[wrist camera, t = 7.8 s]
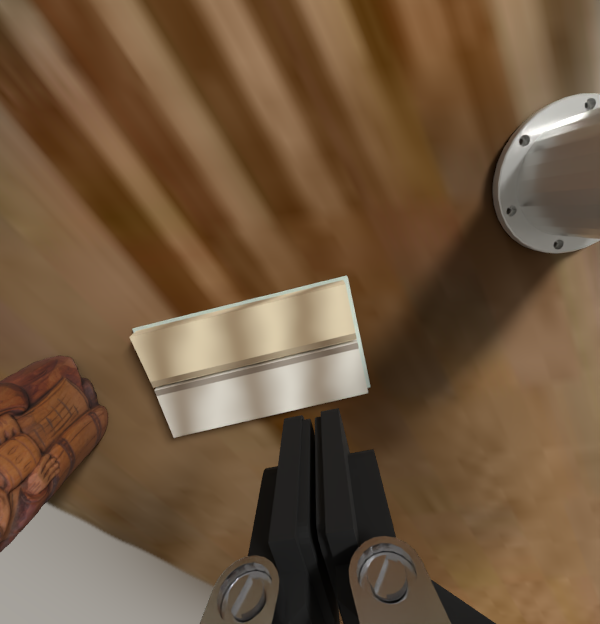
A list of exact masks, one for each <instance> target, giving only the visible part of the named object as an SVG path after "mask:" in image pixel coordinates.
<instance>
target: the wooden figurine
mask: <svg viewBox="0 0 600 624" xmlns="http://www.w3.org/2000/svg"><path fill="white" fill-rule="evenodd" d="M107 424H108V413H107V410H106V408H105V407H104V406H100V405H99V404H98V401H97V395H96V392H95V391H94V388H93V385H92V383H91V382H90V381H89V380H88V379H86V378H81V377H80V375H79V372H78V370H77V366H76V364H75V363H74V360H73V359H72V358H71V357H64V356H56V357H50V358H46V359H43V360H41V361H37V362H34V363H32V364H30V365H29V366H27V367H25V368H23V369H21V370H20V371H18V372H16V373H14V374H12V375H10V376H8V377H7V378H5V379H3V380H2V381H0V552H1V551H2V550H3V549H4V548H5V547H7V546H8V545H9V544H10V543H11V542H12V541H13V539H14V538H15V537H16V536H17V535H18V533H19V532H21V530H23V528H24V527H25V526H26V525H27V524H28V523H29V522H30V521H31V520H32V518H33V517H34V516H35V515H36V514H37V513H38V512H39V510H40V509H41V507H42V506H43V505H44V504H45V503H46V502H47V501H48V500H49V499H50V498H51V497H52V496H53V494H54V493H55V492H56V491H57V490H58V489H59V487H60V486H61V485H62V484H63V482H64V481H65V480H66V479H67V478H68V476H69V475H70V474H71V473H72V472H73V471H74V470H75V469H76V467H77V466H78V465H79V464H80V463H81V462H82V461H83V460H84V458H85V457H86V456H87V455H88V454H89V453H90V452H91V451H92V449H93V448H94V447H95V446H96V445H97V444H98V442H99V441H100V440H101V438H102V436H103V435H104V433H105V431H106V428H107Z"/></svg>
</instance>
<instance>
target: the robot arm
mask: <svg viewBox="0 0 600 624" xmlns="http://www.w3.org/2000/svg"><path fill="white" fill-rule="evenodd" d="M519 141H520V144H519ZM493 201H494V208H495V211H496V214H497V217H498V220H499V221H500V223H501V225H502V227H503V229H504V230H505V231H506V232H507V233H508V234H509V236H510V237H511V238H512V239H513V240H515V241H516V242H518V243H519V244H521V245H522V246H524V247H527V248H529V249H532V250H535V251H540V252H546V253H566V252H573V251H576V250H580V249H583V248H586V247H588V246H590V245H592V244H594V243H596V242H598V241H600V94H597V93H588V94H577V95H573V96H569V97H565V98H563V99H560V100H558V101H555V102H553V103H550V104H549V105H547V106H545V107H543V108H542V109H540V110H538V111H536V112H535V113H534V114H533V115H531V116H530V117H529V118H528V119H526V120H525V121H524V122H523V123H522V124H521V125H520V126H519V128H518V129H517V130H516V131H515V132H514V133H513V134H512V136H511V138H510V139H509V141H508V142H507V144H506V145H505V147H504V149H503V151H502V153H501V156H500V158H499V160H498V162H497V166H496V170H495V174H494V180H493ZM507 210H508V212H506V211H507ZM339 610H340V614H341V617H342V620H343V623H344V624H496V623H494V622H493V621H491V620H490V619H488V618H487V617H485V616H484V615H482V614H481V613H479V612H478V611H476V610H475V609H474V608H472V607H471V606H469V605H468V604H466V603H465V602H463V601H462V600H460V599H459V598H457V597H456V596H454V595H453V594H452V593H450V592H449V591H447V590H446V589H444V588H443V587H441V586H440V585H438V584H437V583H435V582H434V581H432V580H431V579H430V577H429V575H428V573H427V571H426V569H425V567H424V565H423V562H422V560H421V559H420V557H419V556H418V554H417V553H416V551H415V550H414V549H413V548H412V547H411V546H409V545H408V544H407V543H406V542H404V541H402V540H399V539H397V538H396V536H395V532H394V528H393V524H392V520H391V516H390V512H389V508H388V504H387V500H386V496H385V492H384V488H383V484H382V480H381V476H380V472H379V468H378V464H377V460H376V456H375V453H374V449H372V450H367V451H361V452H355V453H350V452H349V448H348V444H347V440H346V436H345V431H344V427H343V423H342V419H341V415H340V411H339V408H337V409H332V410H327V411H322V412H321V417H317V418H315V434H314V430H313V426H312V423H311V420H310V419H306V420H304V417H303V416H302V415H301V416H296V417H291V418H285V419H284V425H283V432H282V440H281V448H280V455H279V463H278V466H277V467H271V468H266V469H265V470H264V473H263V477H262V482H261V488H260V493H259V499H258V504H257V510H256V515H255V520H254V526H253V531H252V537H251V542H250V548H249V553H248V557H244V558H242V559H240V560H238V561H236V562H234V563H233V564H232V565H231V566H229V567H228V568H227V569H226V570H225V571H224V572H223V574H222V575H221V576H220V577H219V579H218V580H217V582H216V584H215V586H214V588H213V590H212V593H211V595H210V598H209V600H208V603H207V606H206V608H205V611H204V614H203V616H202V619H201V622H200V624H340V622H339Z"/></svg>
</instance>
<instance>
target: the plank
mask: <svg viewBox="0 0 600 624" xmlns="http://www.w3.org/2000/svg"><path fill="white" fill-rule="evenodd" d="M130 339H131V341H132V344H133V346H134V348H135V350H136V352H137V354H138V356H139V359H140V361H141V363H142V365H143V367H144V369H145V371H146V373H147V376H148V378H149V380H150V382H151V384H152V386H153V388H154V387H158V386H162V385H166V384H171V383H175V382H179V381H183V380H187V379H192V378H196V377H200V376H204V375H208V374H213V373H217V372H221V371H225V370H229V369H234V368H238V367H242V366H246V365H251V364H255V363H259V362H263V361H267V360H272V359H276V358H280V357H284V356H288V355H293V354H297V353H301V352H305V351H309V350H314V349H318V348H322V347H326V346H330V345H335V344H339V343H343V342H347V341H351V340H356V339H357V338H356V333H355V328H354V323H353V318H352V313H351V308H350V304H349V299H348V294H347V289H346V284H345V282H344V281H343V280H341V281H336V282H332V283H328V284H324V285H320V286H316V287H312V288H308V289H304V290H300V291H296V292H292V293H288V294H284V295H280V296H276V297H272V298H268V299H264V300H260V301H255V302H251V303H247V304H243V305H239V306H235V307H231V308H227V309H223V310H219V311H215V312H211V313H207V314H203V315H199V316H195V317H191V318H187V319H183V320H178V321H174V322H170V323H166V324H162V325H158V326H154V327H150V328H146V329H142V330H138V331H135V332H134V333H133V334H132V335H131V336H130Z"/></svg>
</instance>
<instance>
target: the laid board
mask: <svg viewBox="0 0 600 624" xmlns="http://www.w3.org/2000/svg"><path fill="white" fill-rule="evenodd" d="M154 391H155V393H156V396H157V398H158V401H159V403H160V405H161V408H162V410H163V413H164V415H165V418H166V420H167V422H168V425H169V427H170V430H171V432H172V434H173V437H174V438H175V437H179V436H183V435H188V434H192V433H196V432H201V431H205V430H210V429H214V428H218V427H223V426H227V425H231V424H236V423H240V422H244V421H249V420H253V419H257V418H262V417H266V416H271V415H275V414H279V413H284V412H288V411H292V410H297V409H301V408H305V407H310V406H314V405H318V404H323V403H327V402H332V401H336V400H340V399H345V398H349V397H353V396H358V395H362V394H366V393H368V389H367V384H366V380H365V375H364V370H363V366H362V361H361V356H360V352H359V347H358V342H357V340H351V341H347V342H343V343H339V344H335V345H330V346H326V347H322V348H318V349H314V350H309V351H305V352H301V353H297V354H293V355H288V356H284V357H280V358H276V359H272V360H267V361H263V362H259V363H255V364H251V365H246V366H242V367H238V368H234V369H229V370H225V371H221V372H217V373H213V374H208V375H204V376H200V377H196V378H192V379H187V380H183V381H179V382H175V383H171V384H166V385H162V386H158V387H157V388H156V389H155V390H154Z"/></svg>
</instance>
